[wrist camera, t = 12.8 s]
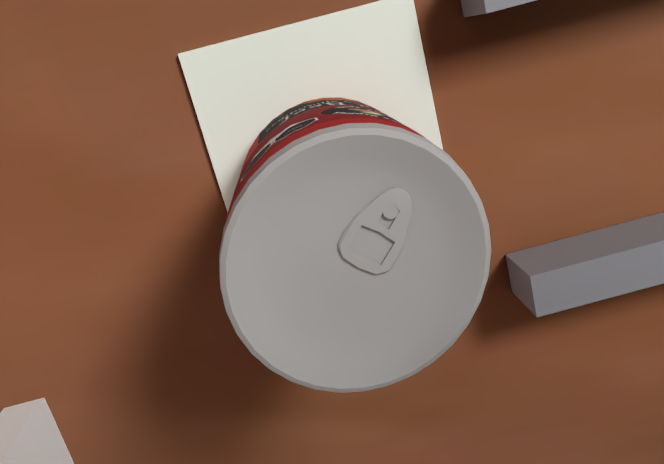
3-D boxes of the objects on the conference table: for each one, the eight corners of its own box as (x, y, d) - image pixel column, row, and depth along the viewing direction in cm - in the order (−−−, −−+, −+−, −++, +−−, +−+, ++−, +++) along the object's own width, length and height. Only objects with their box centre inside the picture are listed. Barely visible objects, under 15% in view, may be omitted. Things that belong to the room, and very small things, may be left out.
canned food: (432, 116, 27) (530, 158, 17) (386, 283, 29) (448, 415, 19) (260, 75, 26) (248, 93, 16) (224, 252, 28) (193, 373, 18)
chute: (174, 41, 26) (161, 40, 23) (824, -129, 26) (892, -152, 23) (273, 355, 30) (272, 388, 27) (827, 207, 30) (885, 223, 27)
